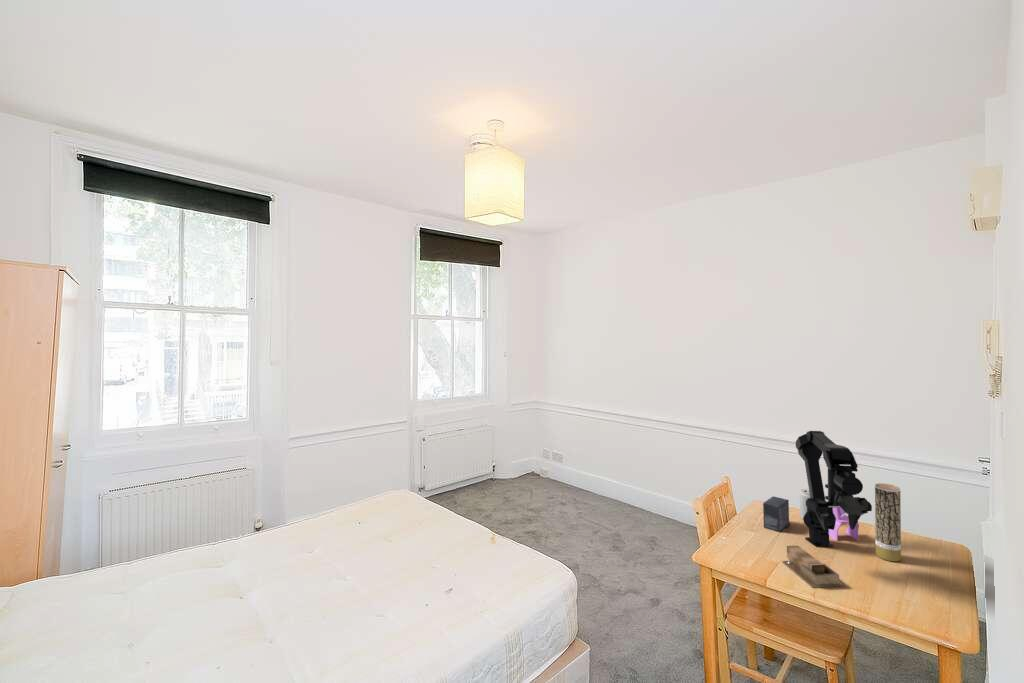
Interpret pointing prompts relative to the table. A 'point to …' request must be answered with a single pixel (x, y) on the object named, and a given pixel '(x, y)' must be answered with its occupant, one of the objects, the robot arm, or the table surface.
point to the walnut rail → (804, 559)
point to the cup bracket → (815, 575)
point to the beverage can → (803, 501)
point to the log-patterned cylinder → (888, 522)
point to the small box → (776, 513)
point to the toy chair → (842, 519)
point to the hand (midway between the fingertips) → (838, 529)
